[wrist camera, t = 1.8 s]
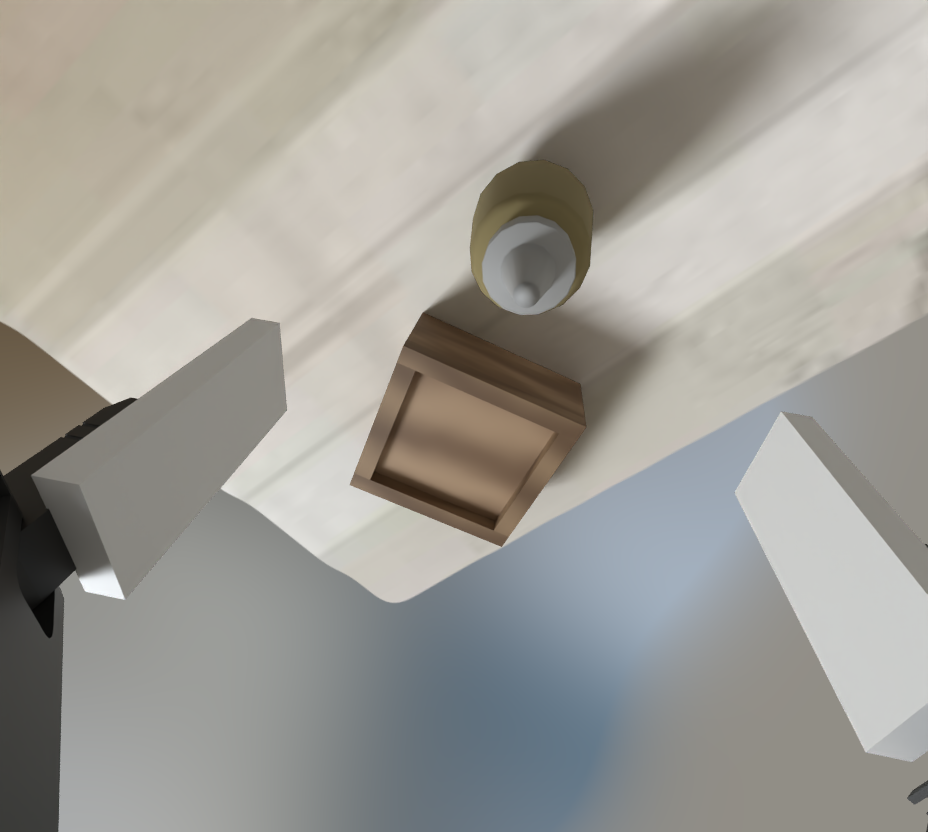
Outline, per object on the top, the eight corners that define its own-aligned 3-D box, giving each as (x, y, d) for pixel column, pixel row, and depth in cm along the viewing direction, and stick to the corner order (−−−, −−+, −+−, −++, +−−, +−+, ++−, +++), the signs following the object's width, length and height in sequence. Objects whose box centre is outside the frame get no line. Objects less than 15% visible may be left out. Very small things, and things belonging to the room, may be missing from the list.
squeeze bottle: (548, 127, 33) (554, 142, 18) (610, 227, 36) (660, 315, 20) (456, 205, 36) (395, 274, 21) (519, 291, 39) (505, 407, 24)
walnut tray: (423, 311, 41) (403, 345, 35) (580, 382, 43) (586, 427, 37) (373, 438, 49) (349, 484, 43) (506, 494, 51) (501, 546, 45)
